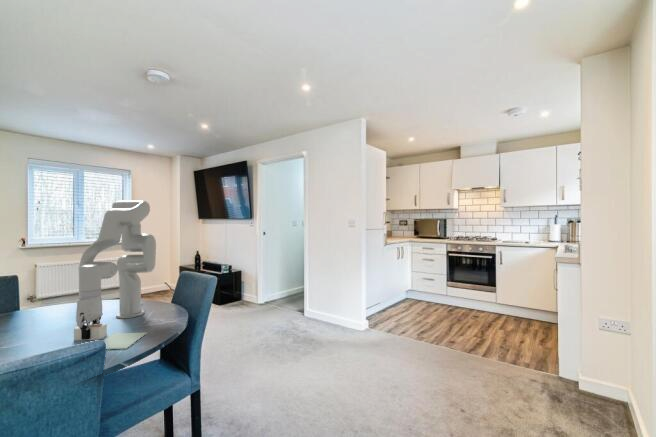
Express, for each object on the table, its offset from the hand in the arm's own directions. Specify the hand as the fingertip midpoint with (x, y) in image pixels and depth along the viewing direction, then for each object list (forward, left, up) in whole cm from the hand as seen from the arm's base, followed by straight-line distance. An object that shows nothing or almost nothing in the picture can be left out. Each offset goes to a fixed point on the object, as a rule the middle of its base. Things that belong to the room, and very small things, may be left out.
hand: (90, 335), depth 133 cm
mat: (+6, +15, -1) cm, 16 cm away
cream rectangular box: (0, 0, -1) cm, 1 cm away
